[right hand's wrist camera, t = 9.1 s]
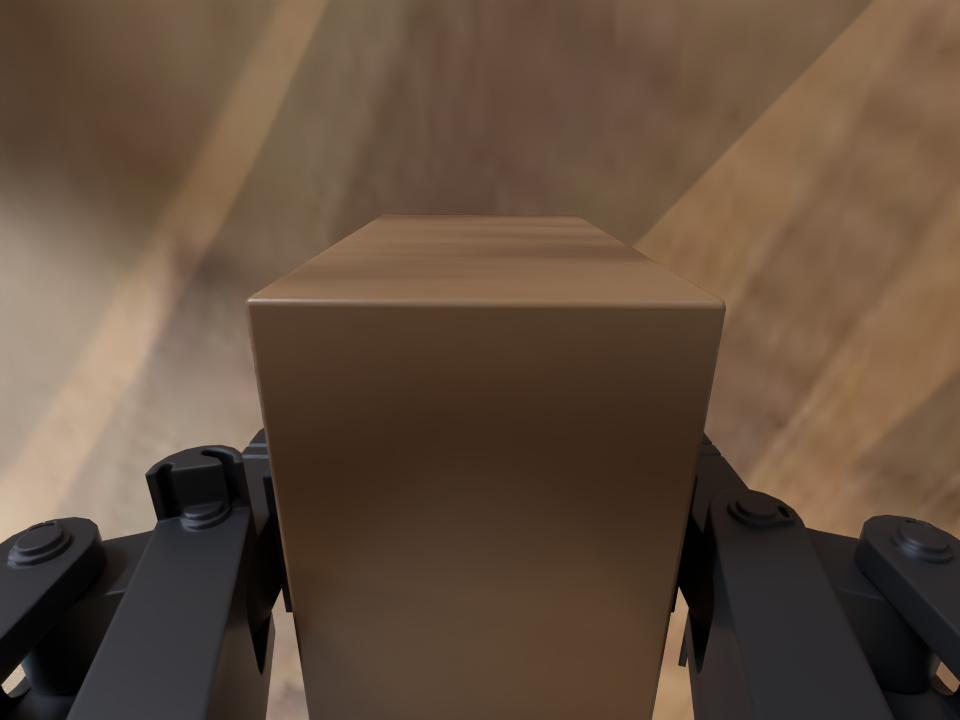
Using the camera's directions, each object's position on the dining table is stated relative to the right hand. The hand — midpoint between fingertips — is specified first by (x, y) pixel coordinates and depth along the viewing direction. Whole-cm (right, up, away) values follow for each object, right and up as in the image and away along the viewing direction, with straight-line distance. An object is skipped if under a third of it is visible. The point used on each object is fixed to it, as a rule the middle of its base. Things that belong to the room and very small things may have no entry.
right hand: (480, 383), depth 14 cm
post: (0, -30, +12) cm, 32 cm away
